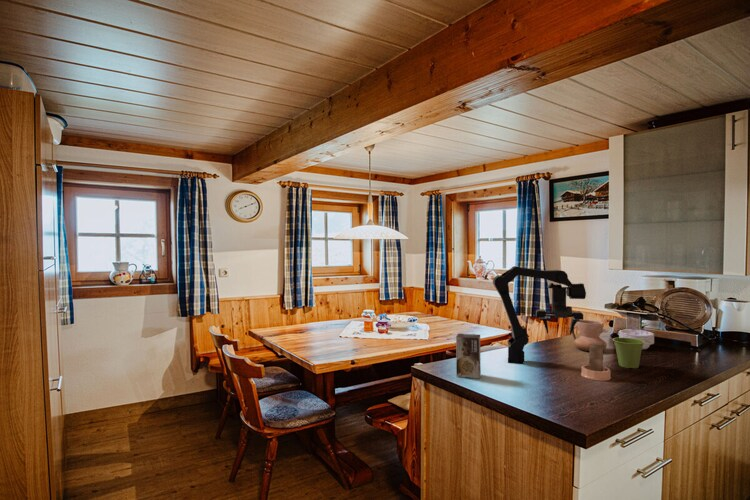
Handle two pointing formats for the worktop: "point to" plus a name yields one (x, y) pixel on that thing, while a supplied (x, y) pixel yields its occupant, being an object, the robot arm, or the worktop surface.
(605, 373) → the tan shallow dish
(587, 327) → the ceramic jug
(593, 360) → the tall square post
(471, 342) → the coffee box
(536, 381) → the worktop surface
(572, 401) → the worktop surface
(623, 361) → the plant pot
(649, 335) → the paper bowls
